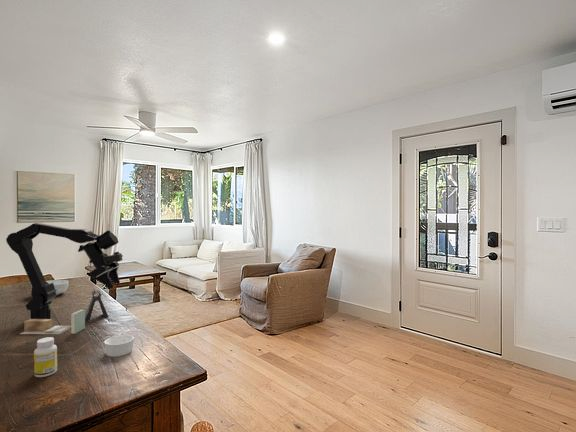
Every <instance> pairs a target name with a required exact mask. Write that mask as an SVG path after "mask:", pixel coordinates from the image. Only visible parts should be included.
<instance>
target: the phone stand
mask: <svg viewBox="0 0 576 432" xmlns="http://www.w3.org/2000/svg"><path fill="white" fill-rule="evenodd" d="M96 292H97V293H96ZM91 294H92V297H91V300H90V302H89V305H88V307H87V310H86V311H85V322H86V321H90V320H91V317H92V314H93V311H94V306H95V303H96V302H98V303H99V307H100V310H101V312H102V313H101V314H102V317H103V318H104V319H107V318H109V314H108V312H107V309H106V306H104V305H105V304H104V303H103V301H102V299H101V298H102V297H101V296H102V293H101V291H100V289H97V291H96V290H95V289H94V290H93V291H91ZM96 294H98V295H96Z"/></svg>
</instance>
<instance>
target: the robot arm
mask: <svg viewBox="0 0 576 432" xmlns="http://www.w3.org/2000/svg"><path fill="white" fill-rule="evenodd" d="M40 234H43V235H48V236H54V237H60V238H65V239H67V240H70V241H72V242H74V243H76V244H81V245H79V246H78V247H79V248H78V250H77V252H78V253H82V252H84V253H85V254H86V256H87V258H88V259H89V261H88V262H89V264H92V265H93V267H94V268H95V269H93V270H91V271H90V273H89V276H90V278H91V279H93V280H94V281H98V282H99V283H101V284H102V285H105V286H106V287H108V288H109V289H113V288H114V285H113V282H114V283H115V284H116V285H120V284H121V281H120V277H119V274H118V270H119V267H120V263H119V262H121V261H123V256H124V255H123V254H122V253H121V252H119V251H115V252H113V254H110V255H108V253H104V251H103V250H105V251H106V250H108V249H110V248H112V247H114V246H115V245H117V244H119V238H118V237H117V236H116V235H115V234H114V233H113V232H112V231H111V230H106V231H104V232H103V233H101V234H100V235H98V234H96V233H94V232H93V231H92V230H91V229H89V228H88V229H87V228H67V227H61V226H56V225H52V224H46V223H42V222H34V223H32V224H30V225H28V226H27V227H25V228H22V229H20V230H18V231H16V232H11V233H10V234H8V235H7V237H6V238H5V240H6V244H7V246H9V248H10V249H11V251H13V252H14V253H15V254H17V256H18V258H19V260H20V262H21V264H22V266H23V267H22V268H24V271H25V273H26V275H27V278H28V279H29V283H30V285H31V290H30V291H31V292H30V294H31V300H30V301H28V302H27V303H26V304H25V308H26V310H27V311H29V319H52V318H51V316H52V315H51V314H52V313H51V312H52V311H51V308H50V305H51V304H52V302H53V301H54V300H55V298H56V297H57V295H56V291H57V290H56V289H55V287H54V284H53V283H50V284H49V283H47V282H46V281H47V280H46V279H45V277H44V274H43V272H42V270H41V268H40V264H38V261H37V258H36V256H35V254H34V252H33V245H34V242H33V239H35V238H36V237H38V236H39V235H40ZM84 243H85V244H84ZM83 244H84V245H83ZM112 281H113V282H112Z"/></svg>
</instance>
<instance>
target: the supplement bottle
mask: <svg viewBox="0 0 576 432" xmlns="http://www.w3.org/2000/svg"><path fill="white" fill-rule="evenodd" d="M54 343H55V338H54V337H51V336H49V337H43V338H39V339H38V340H37V341H36V348H35V349H34V351H33V361H34V362H33V365H34V367H33V368H34V370H33V372H34V377H36V378H44V377H48V376H52V375H53V374H55V373H56V372H58V346H57V345H56V344H54Z"/></svg>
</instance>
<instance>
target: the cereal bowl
mask: <svg viewBox="0 0 576 432" xmlns="http://www.w3.org/2000/svg"><path fill="white" fill-rule="evenodd" d="M45 281H46V282H47V283H49V284H50V283H53V284H54V287H55V289H56V290H57V291H56V296H59V295H60V294H61V293H64V292H66V290H68V288H69V284H70V283H69V282H70V281H69V280H67V279H52V280H45Z"/></svg>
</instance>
